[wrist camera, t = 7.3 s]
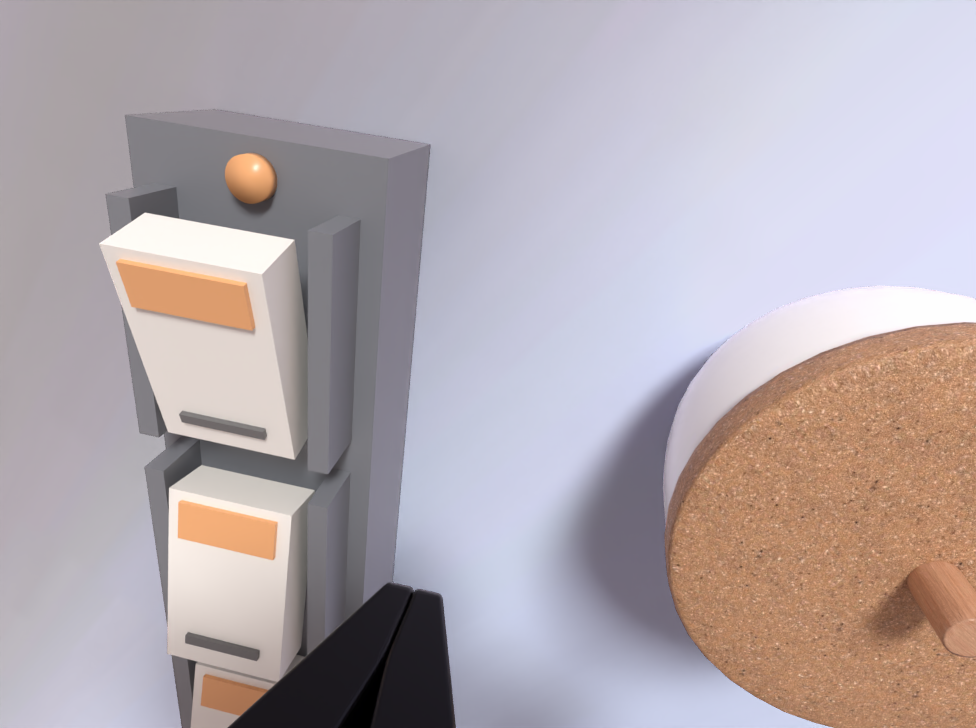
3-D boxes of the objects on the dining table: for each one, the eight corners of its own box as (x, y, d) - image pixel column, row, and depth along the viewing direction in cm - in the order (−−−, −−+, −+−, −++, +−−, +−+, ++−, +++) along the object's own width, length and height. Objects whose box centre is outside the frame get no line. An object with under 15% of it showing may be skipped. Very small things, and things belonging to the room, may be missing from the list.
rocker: (318, 420, 18) (292, 463, 17) (199, 394, 18) (165, 435, 17) (294, 239, 14) (258, 277, 13) (144, 212, 14) (94, 246, 13)
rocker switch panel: (378, 748, 31) (334, 879, 26) (252, 715, 32) (184, 836, 27) (430, 144, 18) (362, 167, 13) (214, 109, 19) (68, 118, 14)
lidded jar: (787, 579, 23) (897, 868, 14) (579, 401, 21) (566, 611, 13) (1085, 402, 18) (1500, 673, 10) (849, 158, 17) (1107, 235, 8)
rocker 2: (301, 646, 20) (276, 685, 19) (197, 620, 21) (164, 657, 19) (314, 490, 19) (289, 518, 17) (201, 465, 19) (165, 490, 17)
